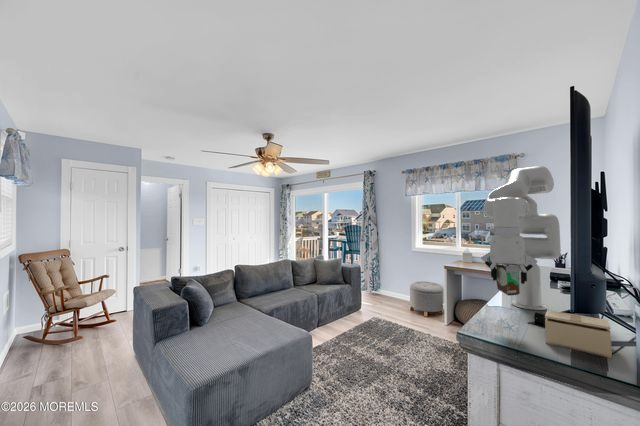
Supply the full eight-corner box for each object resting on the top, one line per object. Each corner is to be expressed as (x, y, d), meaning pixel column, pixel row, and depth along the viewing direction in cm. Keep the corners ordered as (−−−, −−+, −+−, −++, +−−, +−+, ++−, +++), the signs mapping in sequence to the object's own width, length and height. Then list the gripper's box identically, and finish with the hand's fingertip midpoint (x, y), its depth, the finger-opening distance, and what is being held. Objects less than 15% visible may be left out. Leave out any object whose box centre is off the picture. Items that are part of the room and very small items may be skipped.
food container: (531, 296, 88) (527, 265, 88) (509, 296, 89) (506, 266, 90) (514, 288, 100) (511, 261, 100) (495, 288, 101) (493, 261, 102)
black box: (545, 330, 95) (545, 317, 96) (522, 324, 102) (521, 312, 102) (560, 324, 101) (560, 312, 102) (537, 319, 108) (537, 307, 108)
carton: (548, 333, 92) (547, 312, 92) (608, 345, 82) (607, 322, 83) (546, 343, 84) (545, 320, 84) (611, 358, 74) (610, 332, 75)
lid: (547, 311, 92) (547, 309, 92) (607, 321, 82) (607, 319, 82) (545, 317, 84) (544, 315, 84) (610, 329, 75) (610, 326, 75)
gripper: (476, 232, 99) (478, 280, 99) (536, 233, 87) (539, 287, 87) (481, 231, 105) (483, 276, 104) (538, 232, 93) (541, 283, 92)
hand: (508, 281), depth 95 cm, fingers closed on food container, 7 cm apart
